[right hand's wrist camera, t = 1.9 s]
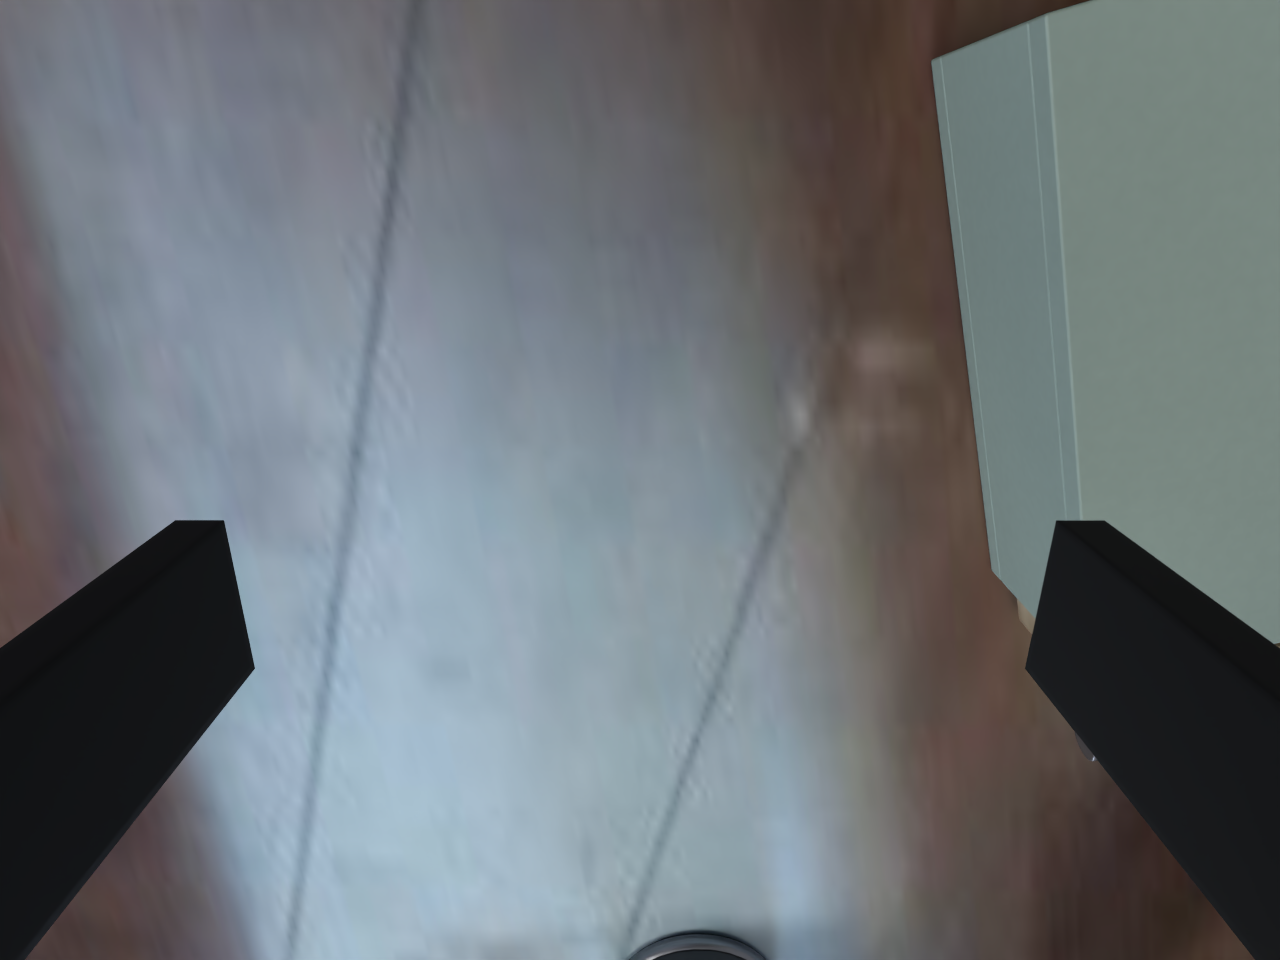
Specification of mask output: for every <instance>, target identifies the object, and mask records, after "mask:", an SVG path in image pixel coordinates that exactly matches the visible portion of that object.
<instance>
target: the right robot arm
mask: <svg viewBox="0 0 1280 960" xmlns="http://www.w3.org/2000/svg"><path fill="white" fill-rule="evenodd" d="M254 669H255V667H254V662H253V657H252V652H251V648H250V643H249V638H248V633H247V629H246V624H245V619H244V614H243V609H242V605H241V600H240V595H239V590H238V585H237V581H236V576H235V571H234V566H233V562H232V557H231V552H230V547H229V542H228V538H227V533H226V528H225V523H224V520H175V521H174V522H172V523H171V524H170V525H168V526H167V527H166V528H164V529H163V530H162V531H160V532H159V533H157V534H156V535H155V536H153V537H152V538H151V539H149V540H148V541H146V542H145V543H144V544H142V545H141V546H140V547H138V548H137V549H135V550H134V551H133V552H131V553H130V554H129V555H127V556H126V557H125V558H123V559H122V560H120V561H119V562H118V563H116V564H115V565H114V566H112V567H111V568H109V569H108V570H107V571H105V572H104V573H103V574H101V575H100V576H99V577H97V578H96V579H94V580H93V581H92V582H90V583H89V584H88V585H86V586H85V587H83V588H82V589H81V590H79V591H78V592H77V593H75V594H74V595H72V596H71V597H70V598H68V599H67V600H66V601H64V602H63V603H62V604H60V605H59V606H57V607H56V608H55V609H53V610H52V611H51V612H49V613H48V614H46V615H45V616H44V617H42V618H41V619H40V620H38V621H37V622H35V623H34V624H33V625H31V626H30V627H29V628H27V629H26V630H25V631H23V632H22V633H20V634H19V635H18V636H16V637H15V638H14V639H12V640H11V641H9V642H8V643H7V644H5V645H4V646H3V647H1V648H0V960H25V959H26V957H27V956H28V955H29V954H30V952H31V951H32V950H33V948H34V947H35V946H36V945H37V943H38V942H39V941H40V940H41V938H42V937H43V936H44V935H45V933H46V932H47V931H48V930H49V928H50V927H51V926H52V924H53V923H54V922H55V921H56V919H57V918H58V917H59V916H60V914H61V913H62V912H63V911H64V909H65V908H66V907H67V905H68V904H69V903H70V902H71V900H72V899H73V898H74V897H75V895H76V894H77V893H78V892H79V890H80V889H81V888H82V887H83V885H84V884H85V883H86V881H87V880H88V879H89V878H90V876H91V875H92V874H93V873H94V871H95V870H96V869H97V868H98V866H99V865H100V864H101V862H102V861H103V860H104V859H105V857H106V856H107V855H108V854H109V852H110V851H111V850H112V849H113V847H114V846H115V845H116V844H117V842H118V841H119V840H120V838H121V837H122V836H123V835H124V833H125V832H126V831H127V830H128V828H129V827H130V826H131V825H132V823H133V822H134V821H135V819H136V818H137V817H138V816H139V814H140V813H141V812H142V811H143V809H144V808H145V807H146V806H147V804H148V803H149V802H150V800H151V799H152V798H153V797H154V795H155V794H156V793H157V792H158V790H159V789H160V788H161V787H162V785H163V784H164V783H165V782H166V780H167V779H168V778H169V776H170V775H171V774H172V773H173V771H174V770H175V769H176V768H177V766H178V765H179V764H180V763H181V761H182V760H183V759H184V757H185V756H186V755H187V754H188V752H189V751H190V750H191V749H192V747H193V746H194V745H195V744H196V742H197V741H198V740H199V739H200V737H201V736H202V735H203V733H204V732H205V731H206V730H207V728H208V727H209V726H210V725H211V723H212V722H213V721H214V720H215V718H216V717H217V716H218V714H219V713H220V712H221V711H222V709H223V708H224V707H225V706H226V704H227V703H228V702H229V701H230V699H231V698H232V697H233V696H234V694H235V693H236V692H237V690H238V689H239V688H240V687H241V685H242V684H243V683H244V682H245V680H246V679H247V678H248V677H249V675H250V674H251V673H252V671H253V670H254ZM1025 669H1026V670H1027V671H1028V673H1029V674H1030V675H1031V677H1032V678H1033V679H1034V680H1035V682H1036V683H1037V684H1038V685H1039V687H1040V688H1041V689H1042V690H1043V692H1044V693H1045V694H1046V696H1047V697H1048V698H1049V699H1050V701H1051V702H1052V703H1053V704H1054V706H1055V707H1056V708H1057V709H1058V711H1059V712H1060V713H1061V714H1062V716H1063V717H1064V718H1065V720H1066V721H1067V722H1068V723H1069V725H1070V726H1071V727H1072V728H1073V730H1074V731H1075V732H1076V733H1077V735H1078V736H1079V737H1080V739H1081V740H1082V741H1083V742H1084V744H1085V745H1086V746H1087V747H1088V749H1089V750H1090V751H1091V752H1092V754H1093V755H1094V756H1095V757H1096V759H1097V760H1098V761H1099V763H1100V764H1101V765H1102V766H1103V768H1104V769H1105V770H1106V771H1107V773H1108V774H1109V775H1110V776H1111V778H1112V779H1113V780H1114V782H1115V783H1116V784H1117V785H1118V787H1119V788H1120V789H1121V790H1122V792H1123V793H1124V794H1125V795H1126V797H1127V798H1128V799H1129V800H1130V802H1131V803H1132V804H1133V806H1134V807H1135V808H1136V809H1137V811H1138V812H1139V813H1140V814H1141V816H1142V817H1143V818H1144V819H1145V821H1146V822H1147V823H1148V825H1149V826H1150V827H1151V828H1152V830H1153V831H1154V832H1155V833H1156V835H1157V836H1158V837H1159V838H1160V840H1161V841H1162V842H1163V844H1164V845H1165V846H1166V847H1167V849H1168V850H1169V851H1170V852H1171V854H1172V855H1173V856H1174V857H1175V859H1176V860H1177V861H1178V862H1179V864H1180V865H1181V866H1182V868H1183V869H1184V870H1185V871H1186V873H1187V874H1188V875H1189V876H1190V878H1191V879H1192V880H1193V881H1194V883H1195V884H1196V885H1197V887H1198V888H1199V889H1200V890H1201V892H1202V893H1203V894H1204V895H1205V897H1206V898H1207V899H1208V900H1209V902H1210V903H1211V904H1212V905H1213V907H1214V908H1215V909H1216V911H1217V912H1218V913H1219V914H1220V916H1221V917H1222V918H1223V919H1224V921H1225V922H1226V923H1227V924H1228V926H1229V927H1230V928H1231V930H1232V931H1233V932H1234V933H1235V935H1236V936H1237V937H1238V938H1239V940H1240V941H1241V942H1242V943H1243V945H1244V946H1245V947H1246V948H1247V950H1248V951H1249V952H1250V954H1251V955H1252V956H1253V957H1254V959H1255V960H1280V648H1279V647H1277V646H1276V645H1275V644H1273V643H1272V642H1271V641H1269V640H1268V639H1266V638H1265V637H1264V636H1262V635H1261V634H1260V633H1258V632H1257V631H1255V630H1254V629H1253V628H1251V627H1250V626H1249V625H1247V624H1246V623H1245V622H1243V621H1242V620H1240V619H1239V618H1238V617H1236V616H1235V615H1234V614H1232V613H1231V612H1229V611H1228V610H1227V609H1225V608H1224V607H1223V606H1221V605H1220V604H1218V603H1217V602H1216V601H1214V600H1213V599H1212V598H1210V597H1209V596H1208V595H1206V594H1205V593H1203V592H1202V591H1201V590H1199V589H1198V588H1197V587H1195V586H1194V585H1192V584H1191V583H1190V582H1188V581H1187V580H1186V579H1184V578H1183V577H1181V576H1180V575H1179V574H1177V573H1176V572H1175V571H1173V570H1172V569H1171V568H1169V567H1168V566H1166V565H1165V564H1164V563H1162V562H1161V561H1160V560H1158V559H1157V558H1155V557H1154V556H1153V555H1151V554H1150V553H1149V552H1147V551H1146V550H1145V549H1143V548H1142V547H1140V546H1139V545H1138V544H1136V543H1135V542H1134V541H1132V540H1131V539H1129V538H1128V537H1127V536H1125V535H1124V534H1123V533H1121V532H1120V531H1118V530H1117V529H1116V528H1114V527H1113V526H1112V525H1110V524H1109V523H1108V522H1106V521H1105V520H1056V523H1055V528H1054V533H1053V538H1052V542H1051V547H1050V552H1049V557H1048V562H1047V566H1046V571H1045V576H1044V581H1043V585H1042V590H1041V595H1040V600H1039V605H1038V609H1037V614H1036V619H1035V624H1034V629H1033V633H1032V638H1031V643H1030V648H1029V652H1028V657H1027V662H1026V667H1025Z"/></svg>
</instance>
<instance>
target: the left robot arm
mask: <svg viewBox="0 0 1280 960" xmlns="http://www.w3.org/2000/svg"><path fill="white" fill-rule="evenodd" d="M630 960H765V959H764V958H763V957H762V956H761V955H760V954H759V953H757V952H756V951H755V950H753V949H752V948H750V947H748V946H747V945H745V944H743V943H740V942H738V941H735V940H732V939H729V938H725V937H721V936H715V935H706V934H692V935H682V936H676V937H671V938H667V939H664V940H661V941H658V942H656V943H654V944H651V945H649V946H647V947H646V948H644V949H642V950H641V951H639V952H638V953H636V954H635V955H634V956H633V957H632V958H631V959H630Z"/></svg>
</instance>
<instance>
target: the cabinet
mask: <svg viewBox="0 0 1280 960" xmlns="http://www.w3.org/2000/svg"><path fill="white" fill-rule="evenodd" d="M931 63H932V72H933V80H934V88H935V97H936V105H937V114H938V122H939V131H940V139H941V147H942V156H943V164H944V173H945V181H946V189H947V198H948V206H949V215H950V223H951V231H952V240H953V248H954V257H955V265H956V274H957V282H958V290H959V299H960V307H961V316H962V324H963V332H964V341H965V349H966V358H967V366H968V374H969V383H970V391H971V400H972V408H973V417H974V425H975V433H976V442H977V450H978V459H979V467H980V475H981V484H982V492H983V501H984V509H985V517H986V526H987V534H988V543H989V551H990V560H991V568H992V571H993V572H994V573H995V574H996V575H997V576H998V578H999V579H1000V580H1001V581H1002V582H1003V583H1004V584H1005V585H1006V586H1007V588H1008V589H1009V590H1010V591H1011V592H1012V593H1013V594H1014V595H1015V596H1016V598H1017V599H1018V600H1019V601H1020V602H1021V603H1022V604H1023V605H1024V607H1025V608H1026V609H1027V610H1028V611H1029V612H1030V613H1031V614H1032V615H1033V617H1034V618H1035V619H1036V614H1037V609H1038V605H1039V600H1040V595H1041V590H1042V585H1043V581H1044V576H1045V571H1046V566H1047V562H1048V557H1049V552H1050V547H1051V542H1052V538H1053V533H1054V528H1055V523H1056V520H1105V521H1106V522H1108V523H1109V524H1110V525H1112V526H1113V527H1114V528H1116V529H1117V530H1118V531H1120V532H1121V533H1123V534H1124V535H1125V536H1127V537H1128V538H1129V539H1131V540H1132V541H1134V542H1135V543H1136V544H1138V545H1139V546H1140V547H1142V548H1143V549H1145V550H1146V551H1147V552H1149V553H1150V554H1151V555H1153V556H1154V557H1155V558H1157V559H1158V560H1160V561H1161V562H1162V563H1164V564H1165V565H1166V566H1168V567H1169V568H1171V569H1172V570H1173V571H1175V572H1176V573H1177V574H1179V575H1180V576H1181V577H1183V578H1184V579H1186V580H1187V581H1188V582H1190V583H1191V584H1192V585H1194V586H1195V587H1197V588H1198V589H1199V590H1201V591H1202V592H1203V593H1205V594H1206V595H1208V596H1209V597H1210V598H1212V599H1213V600H1214V601H1216V602H1217V603H1218V604H1220V605H1221V606H1223V607H1224V608H1225V609H1227V610H1228V611H1229V612H1231V613H1232V614H1234V615H1235V616H1236V617H1238V618H1239V619H1240V620H1242V621H1243V622H1245V623H1246V624H1247V625H1249V626H1250V627H1251V628H1253V629H1254V630H1255V631H1257V632H1258V633H1260V634H1261V635H1262V636H1264V637H1265V638H1266V639H1268V640H1269V641H1271V642H1272V643H1273V644H1275V643H1280V0H1090V1H1086V2H1083V3H1080V4H1076V5H1073V6H1069V7H1066V8H1063V9H1059V10H1056V11H1052V12H1049V13H1046V14H1044V15H1041V16H1039V17H1036V18H1034V19H1032V20H1029V21H1026V22H1024V23H1021V24H1019V25H1016V26H1014V27H1011V28H1009V29H1006V30H1004V31H1001V32H999V33H997V34H994V35H992V36H989V37H987V38H984V39H982V40H979V41H977V42H974V43H972V44H969V45H967V46H964V47H962V48H959V49H957V50H954V51H952V52H950V53H947V54H945V55H942V56H940V57H937V58H935V59H933V60H932V62H931Z"/></svg>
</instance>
